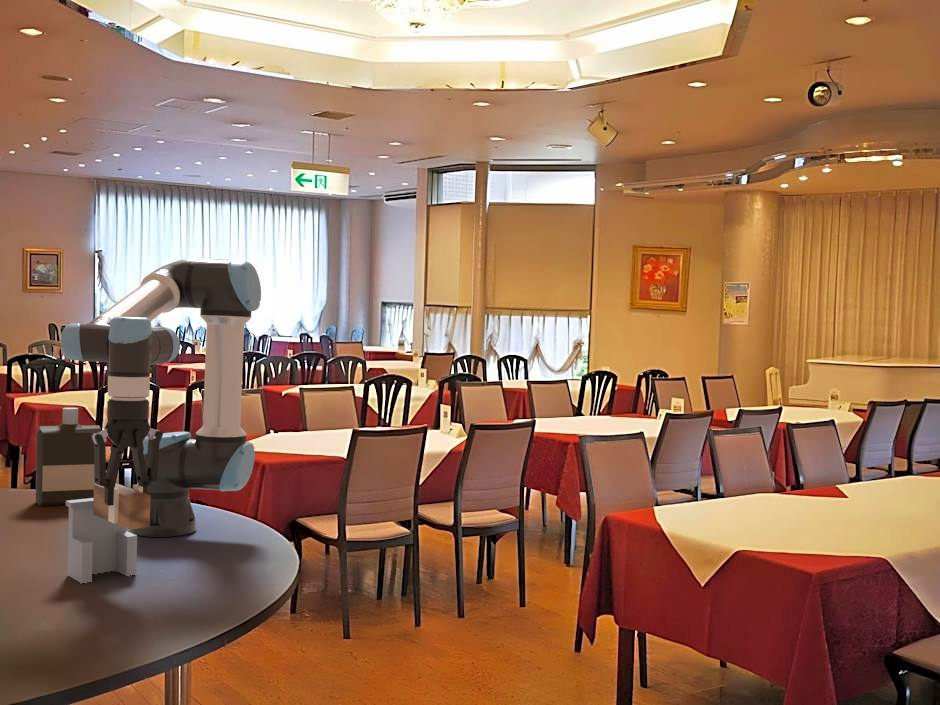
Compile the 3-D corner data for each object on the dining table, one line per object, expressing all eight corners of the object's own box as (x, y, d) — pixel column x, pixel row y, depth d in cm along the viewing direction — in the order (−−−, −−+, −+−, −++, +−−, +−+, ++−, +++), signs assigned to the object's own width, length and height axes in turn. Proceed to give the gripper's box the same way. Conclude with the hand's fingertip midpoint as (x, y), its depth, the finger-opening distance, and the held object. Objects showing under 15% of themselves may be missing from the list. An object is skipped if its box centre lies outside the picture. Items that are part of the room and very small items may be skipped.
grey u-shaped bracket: (122, 566, 209) (124, 494, 208) (138, 574, 203) (140, 500, 202) (64, 575, 200) (65, 500, 200) (78, 584, 195) (80, 507, 194)
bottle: (35, 501, 268) (36, 406, 267) (99, 498, 275) (101, 406, 274) (36, 507, 261) (38, 410, 260) (102, 504, 268) (104, 409, 266)
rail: (112, 512, 202) (112, 482, 202) (149, 527, 190) (150, 495, 190) (92, 514, 200) (92, 483, 199) (129, 529, 187) (129, 497, 187)
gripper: (161, 395, 201) (158, 512, 202) (75, 397, 189) (72, 522, 190) (179, 398, 195) (176, 519, 196) (92, 401, 184) (88, 529, 185)
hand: (125, 520), depth 193 cm, fingers closed on rail, 4 cm apart
